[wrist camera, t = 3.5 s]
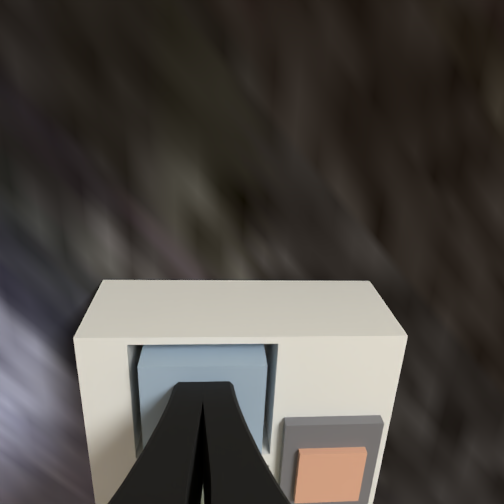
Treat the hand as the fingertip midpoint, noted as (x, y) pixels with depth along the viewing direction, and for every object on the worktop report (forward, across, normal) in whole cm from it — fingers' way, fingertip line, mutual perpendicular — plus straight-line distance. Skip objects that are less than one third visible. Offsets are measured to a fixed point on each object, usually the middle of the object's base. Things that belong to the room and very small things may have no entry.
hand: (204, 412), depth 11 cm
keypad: (+3, -1, +4) cm, 5 cm away
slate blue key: (+2, 0, 0) cm, 2 cm away
